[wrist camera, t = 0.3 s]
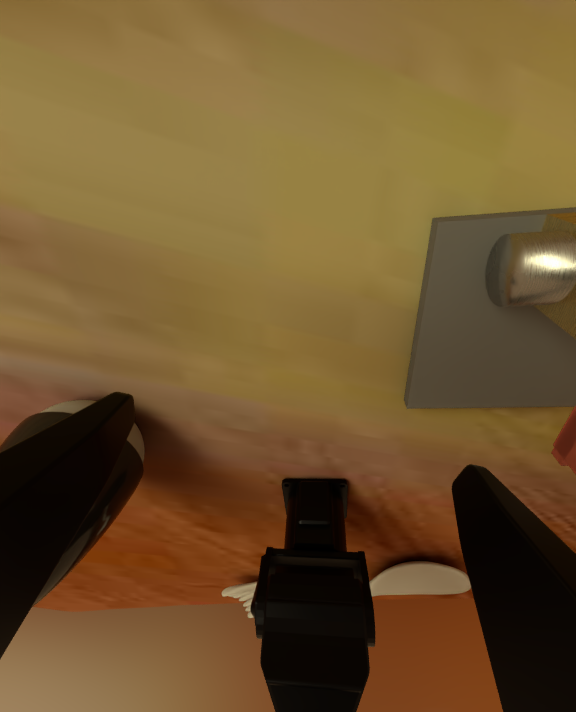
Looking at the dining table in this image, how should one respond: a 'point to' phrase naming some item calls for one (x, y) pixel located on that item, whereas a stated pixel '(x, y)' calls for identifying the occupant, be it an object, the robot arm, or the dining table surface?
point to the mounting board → (483, 327)
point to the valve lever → (567, 443)
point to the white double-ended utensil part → (392, 582)
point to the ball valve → (537, 270)
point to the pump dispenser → (109, 499)
